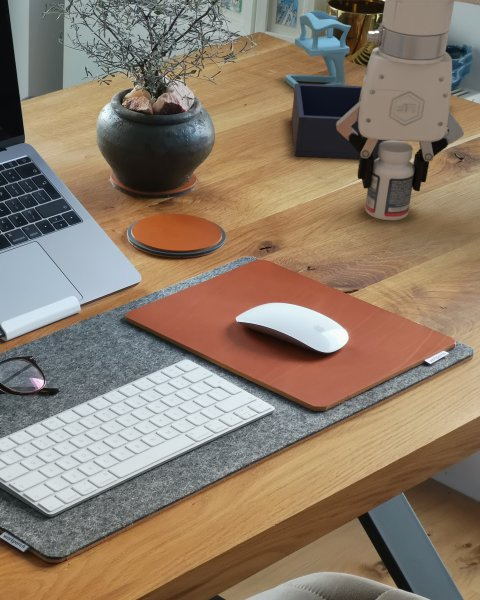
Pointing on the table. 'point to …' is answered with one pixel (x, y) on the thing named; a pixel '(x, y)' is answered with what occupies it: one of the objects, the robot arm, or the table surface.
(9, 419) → the table surface
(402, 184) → the pill bottle
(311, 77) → the chair
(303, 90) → the bin
